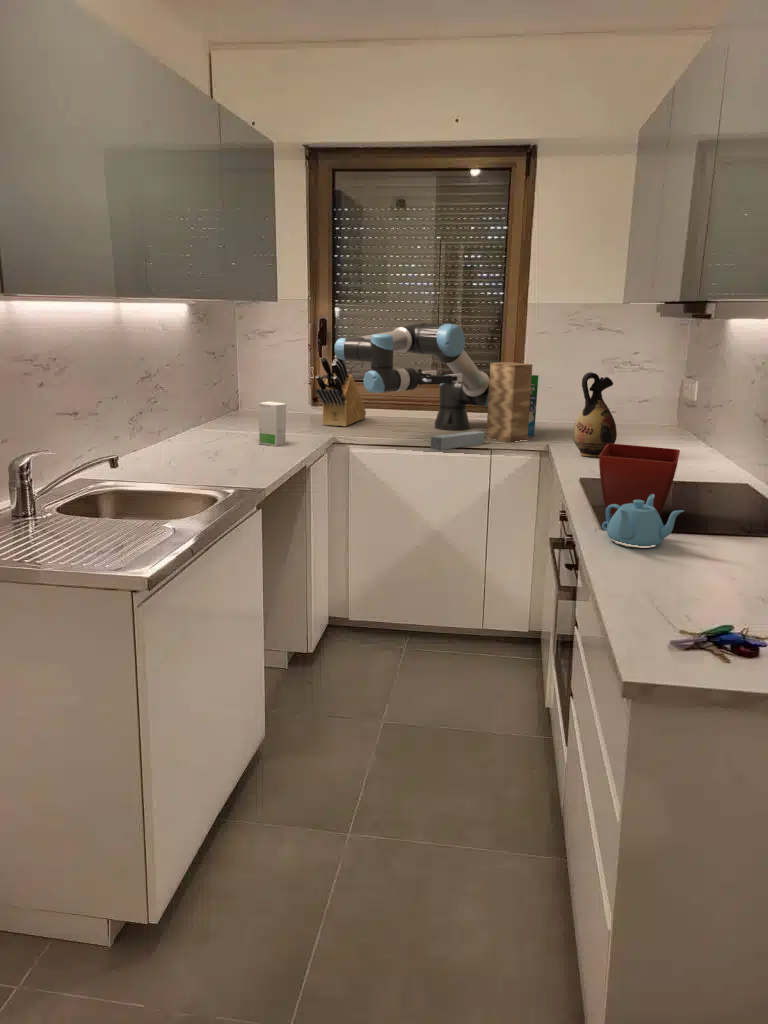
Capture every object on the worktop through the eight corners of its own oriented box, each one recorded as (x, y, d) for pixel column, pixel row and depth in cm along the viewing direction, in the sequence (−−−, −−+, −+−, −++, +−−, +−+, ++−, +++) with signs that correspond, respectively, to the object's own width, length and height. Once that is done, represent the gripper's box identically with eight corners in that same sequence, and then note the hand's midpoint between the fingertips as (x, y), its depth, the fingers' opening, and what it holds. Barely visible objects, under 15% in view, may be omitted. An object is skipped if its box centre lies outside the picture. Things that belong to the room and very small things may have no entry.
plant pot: (669, 527, 203) (677, 461, 198) (592, 518, 209) (598, 455, 205) (673, 509, 220) (680, 449, 215) (601, 501, 227) (607, 443, 222)
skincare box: (258, 444, 301) (257, 402, 297) (268, 441, 306) (268, 400, 302) (276, 446, 297) (276, 404, 293) (287, 443, 303) (286, 402, 299)
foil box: (430, 448, 300) (430, 436, 298) (475, 442, 314) (476, 430, 313) (438, 450, 296) (439, 438, 295) (484, 444, 311) (484, 432, 310)
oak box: (485, 437, 324) (489, 362, 316) (503, 435, 330) (507, 361, 322) (510, 443, 314) (515, 365, 306) (528, 440, 320) (533, 364, 312)
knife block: (313, 428, 337) (313, 354, 329) (343, 417, 369) (343, 349, 361) (338, 430, 334) (338, 355, 326) (366, 419, 366) (367, 350, 358)
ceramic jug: (597, 450, 302) (604, 370, 294) (623, 458, 289) (631, 374, 281) (559, 452, 296) (565, 370, 288) (583, 460, 283) (590, 375, 275)
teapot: (594, 533, 196) (597, 493, 193) (652, 532, 198) (657, 492, 195) (617, 552, 182) (621, 509, 179) (680, 551, 184) (685, 508, 181)
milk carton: (532, 432, 339) (536, 372, 332) (534, 436, 330) (538, 375, 324) (510, 431, 340) (514, 372, 333) (512, 435, 331) (515, 374, 324)
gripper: (381, 386, 289) (425, 382, 302) (427, 394, 271) (472, 389, 283) (381, 365, 287) (426, 362, 300) (427, 371, 269) (473, 368, 281)
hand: (448, 375), depth 292 cm, fingers open, 13 cm apart
